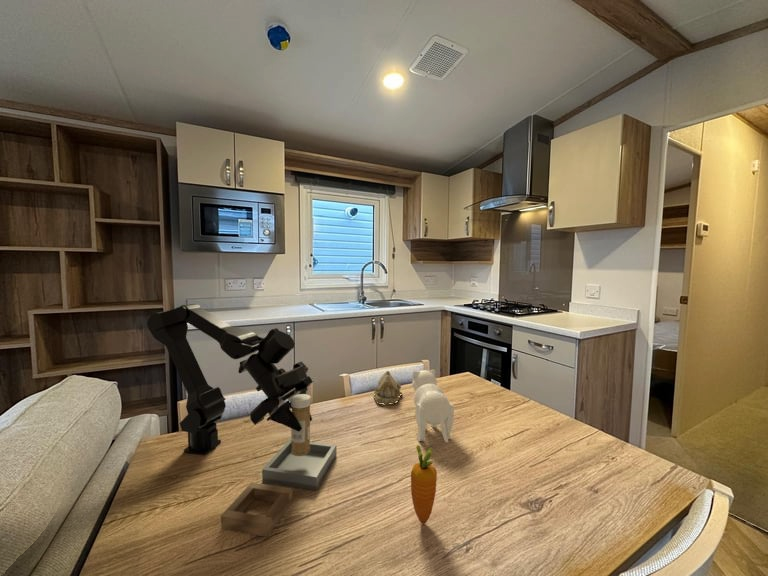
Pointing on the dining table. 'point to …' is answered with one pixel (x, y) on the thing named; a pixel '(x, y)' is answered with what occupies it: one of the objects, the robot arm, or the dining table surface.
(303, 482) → the tray
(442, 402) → the cat figurine
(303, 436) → the sprinkles bottle
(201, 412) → the robot arm
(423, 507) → the carrot
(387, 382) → the ceramic model
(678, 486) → the dining table surface
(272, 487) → the holder collar
